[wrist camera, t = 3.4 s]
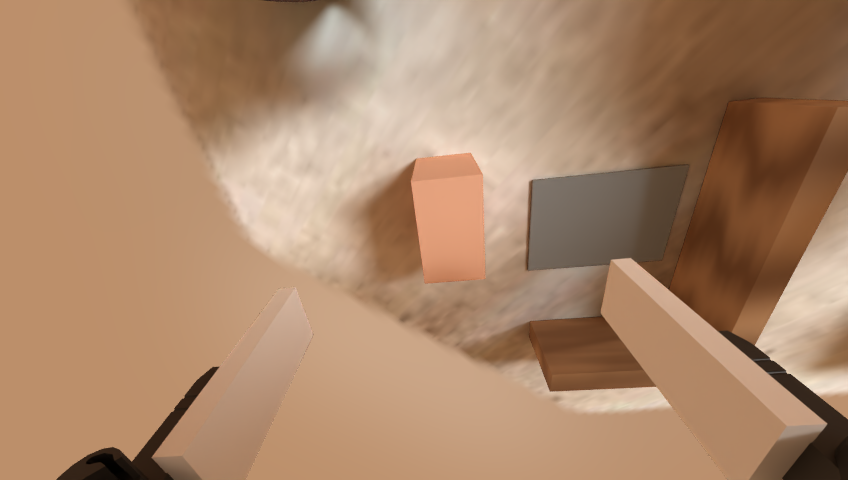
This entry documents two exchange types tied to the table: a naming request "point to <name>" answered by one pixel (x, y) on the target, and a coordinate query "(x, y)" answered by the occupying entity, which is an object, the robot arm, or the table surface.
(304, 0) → the mug
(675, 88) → the table surface
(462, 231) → the block
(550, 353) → the corner walls
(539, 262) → the pad
